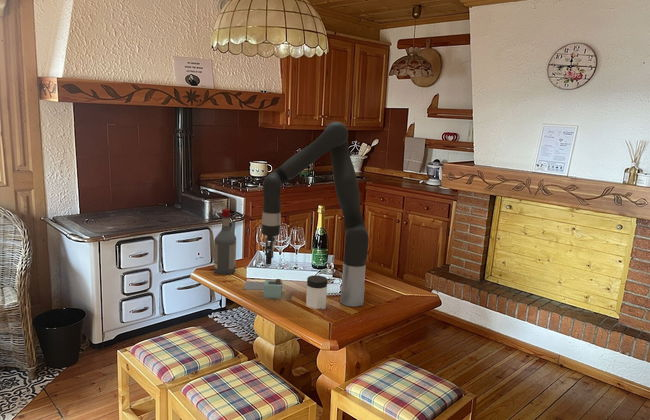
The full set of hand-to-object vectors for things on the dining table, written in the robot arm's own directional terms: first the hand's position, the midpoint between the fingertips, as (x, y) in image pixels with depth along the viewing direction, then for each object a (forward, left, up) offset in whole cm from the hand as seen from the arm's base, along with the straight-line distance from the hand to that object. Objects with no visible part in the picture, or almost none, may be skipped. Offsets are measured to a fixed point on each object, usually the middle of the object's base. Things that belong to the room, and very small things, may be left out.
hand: (269, 260), depth 202 cm
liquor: (+23, -28, -16) cm, 40 cm away
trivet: (+7, -9, -16) cm, 20 cm away
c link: (-2, 0, -15) cm, 15 cm away
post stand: (-4, 0, -16) cm, 16 cm away
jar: (-20, +7, -16) cm, 27 cm away
